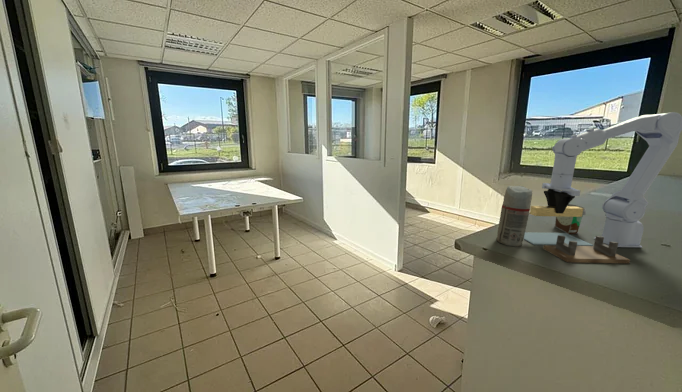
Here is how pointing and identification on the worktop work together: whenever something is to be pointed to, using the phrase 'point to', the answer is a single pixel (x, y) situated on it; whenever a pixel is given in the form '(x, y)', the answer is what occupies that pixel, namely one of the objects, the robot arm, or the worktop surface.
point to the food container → (569, 222)
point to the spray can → (514, 215)
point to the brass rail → (555, 211)
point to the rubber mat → (551, 238)
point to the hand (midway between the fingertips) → (555, 211)
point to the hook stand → (586, 251)
